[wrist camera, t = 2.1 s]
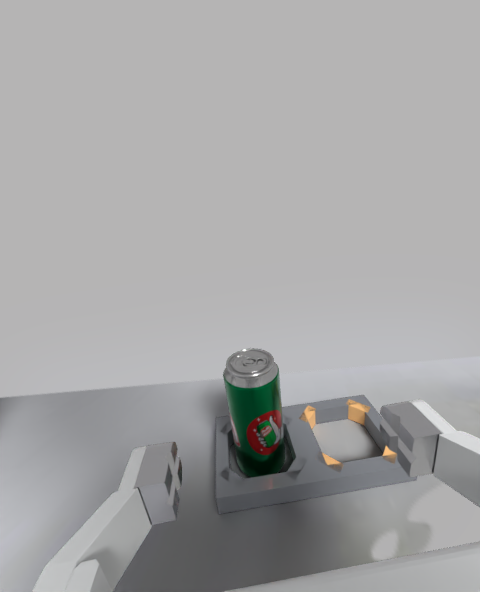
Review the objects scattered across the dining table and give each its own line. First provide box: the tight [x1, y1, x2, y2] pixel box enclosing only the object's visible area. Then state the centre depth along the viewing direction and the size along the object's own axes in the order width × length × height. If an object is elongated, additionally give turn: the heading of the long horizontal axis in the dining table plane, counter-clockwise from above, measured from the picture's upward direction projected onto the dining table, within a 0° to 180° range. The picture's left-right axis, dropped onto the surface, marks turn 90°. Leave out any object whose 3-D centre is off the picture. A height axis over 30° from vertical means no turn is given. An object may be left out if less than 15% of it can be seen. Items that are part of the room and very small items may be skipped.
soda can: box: [223, 349, 285, 478], centre depth 25 cm, size 5×5×12 cm
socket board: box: [216, 395, 417, 514], centre depth 27 cm, size 18×9×2 cm, turn 95°
